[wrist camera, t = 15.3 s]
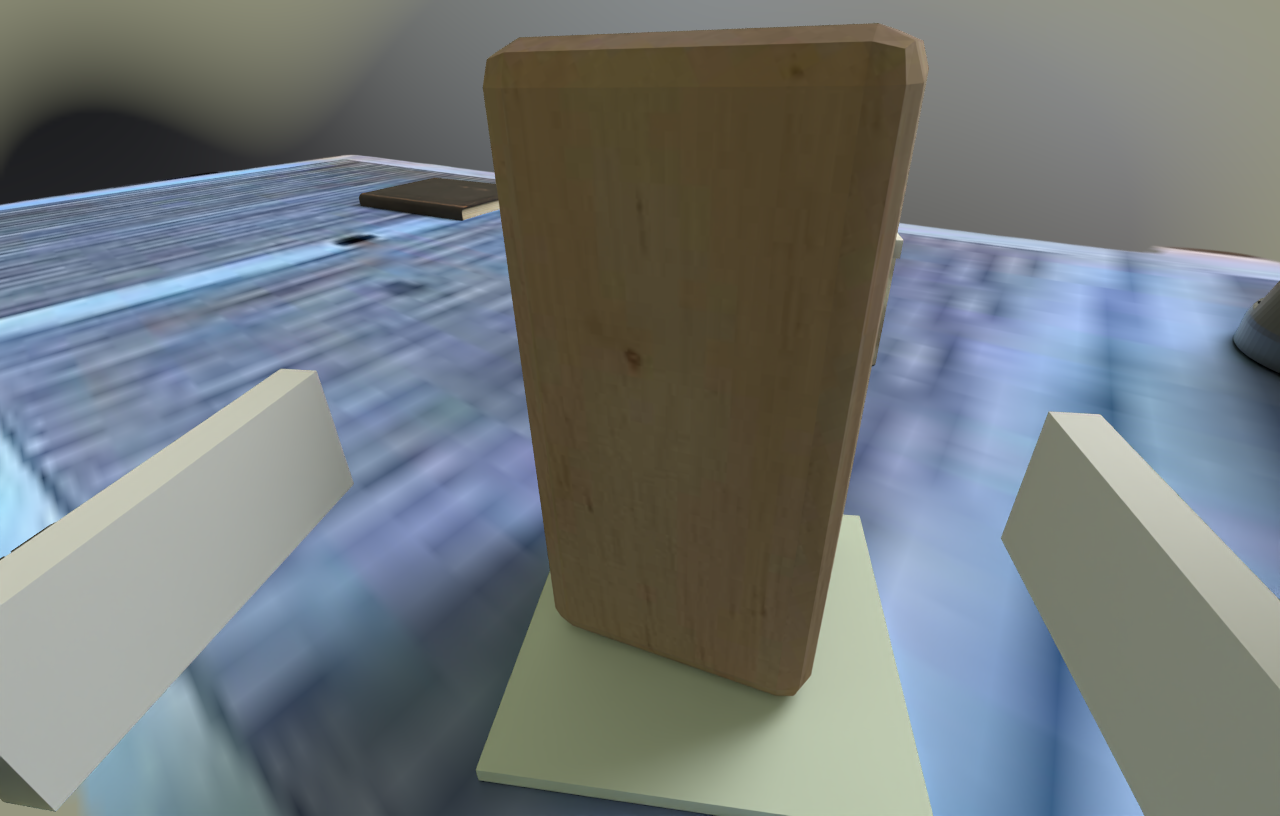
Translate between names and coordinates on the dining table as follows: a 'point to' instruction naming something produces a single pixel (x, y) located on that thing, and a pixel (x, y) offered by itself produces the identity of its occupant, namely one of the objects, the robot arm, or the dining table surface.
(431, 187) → the hardcover book
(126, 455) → the dining table surface
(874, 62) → the wooden block
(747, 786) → the mat
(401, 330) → the dining table surface
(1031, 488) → the robot arm
